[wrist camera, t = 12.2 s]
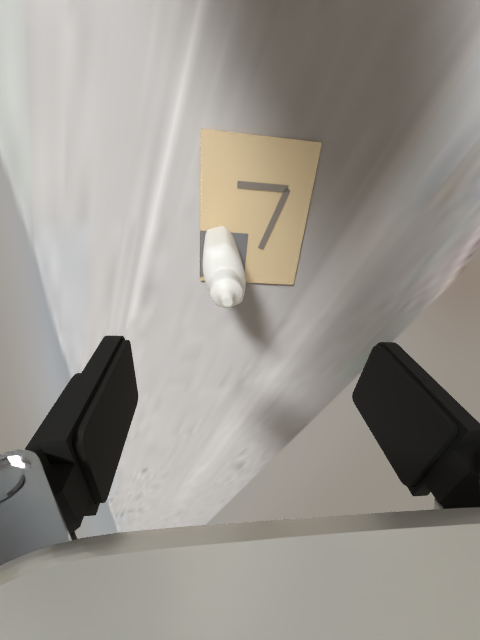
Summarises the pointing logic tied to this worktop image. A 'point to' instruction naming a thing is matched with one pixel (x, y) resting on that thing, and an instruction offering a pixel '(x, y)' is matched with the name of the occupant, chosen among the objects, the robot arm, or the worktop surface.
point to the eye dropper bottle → (223, 268)
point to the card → (258, 198)
